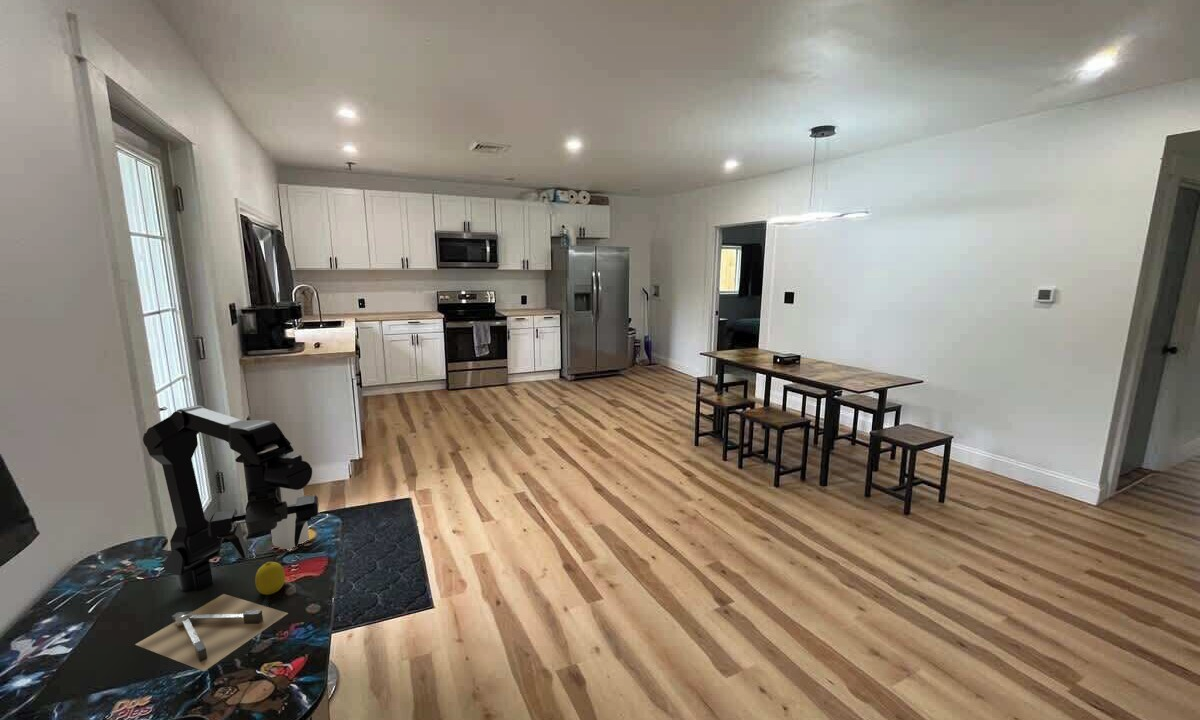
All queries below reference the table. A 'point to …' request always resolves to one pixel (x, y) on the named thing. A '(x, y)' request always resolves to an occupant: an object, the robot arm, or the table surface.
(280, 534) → the milk
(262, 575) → the lemon
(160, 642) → the board
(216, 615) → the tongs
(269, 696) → the table surface
